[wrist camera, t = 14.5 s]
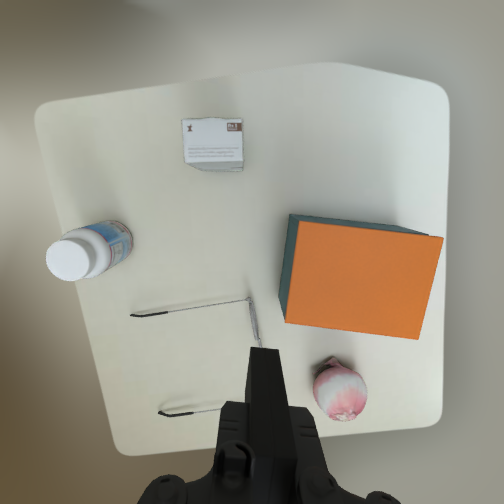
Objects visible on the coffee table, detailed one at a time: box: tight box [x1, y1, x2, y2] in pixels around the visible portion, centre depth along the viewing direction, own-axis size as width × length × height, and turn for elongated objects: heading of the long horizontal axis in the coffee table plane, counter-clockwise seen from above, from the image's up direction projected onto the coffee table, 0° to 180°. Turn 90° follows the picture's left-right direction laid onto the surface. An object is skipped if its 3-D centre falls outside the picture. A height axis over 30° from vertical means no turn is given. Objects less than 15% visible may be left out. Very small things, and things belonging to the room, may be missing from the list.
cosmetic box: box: [181, 117, 244, 172], centre depth 35 cm, size 6×4×12 cm
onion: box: [313, 357, 367, 422], centre depth 45 cm, size 8×8×7 cm
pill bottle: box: [46, 221, 133, 281], centre depth 38 cm, size 6×6×11 cm
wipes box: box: [278, 214, 429, 320], centre depth 40 cm, size 16×13×8 cm
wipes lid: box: [285, 221, 444, 340], centre depth 36 cm, size 16×13×1 cm
